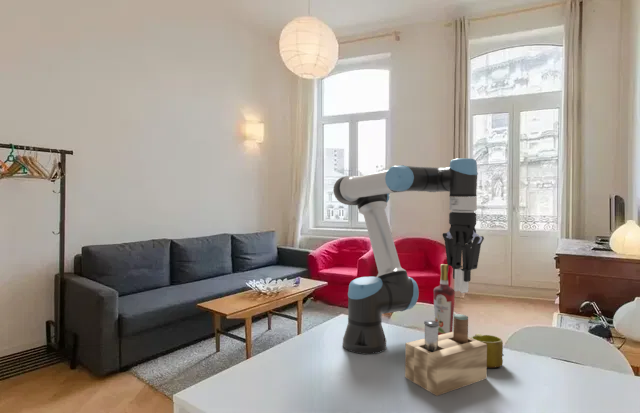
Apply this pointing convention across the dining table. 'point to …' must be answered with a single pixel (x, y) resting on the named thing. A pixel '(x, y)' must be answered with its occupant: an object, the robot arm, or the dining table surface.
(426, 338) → the metal pin
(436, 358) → the oak block
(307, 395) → the dining table surface
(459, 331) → the walnut peg
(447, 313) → the liquor
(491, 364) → the mug
